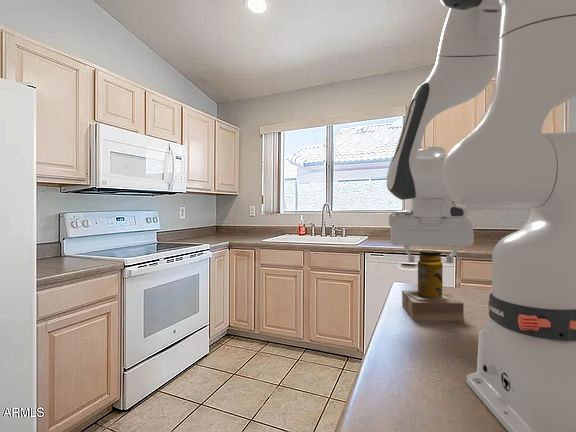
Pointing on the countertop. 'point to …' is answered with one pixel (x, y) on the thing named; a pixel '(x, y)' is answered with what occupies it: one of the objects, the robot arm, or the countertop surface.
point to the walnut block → (433, 308)
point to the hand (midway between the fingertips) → (430, 262)
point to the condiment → (429, 276)
